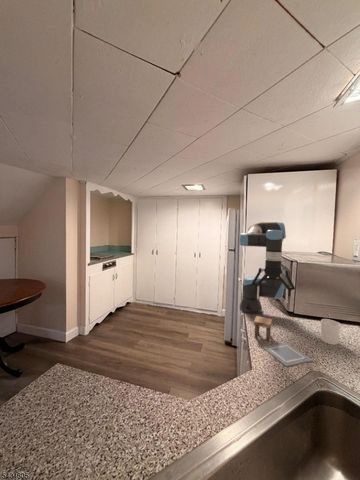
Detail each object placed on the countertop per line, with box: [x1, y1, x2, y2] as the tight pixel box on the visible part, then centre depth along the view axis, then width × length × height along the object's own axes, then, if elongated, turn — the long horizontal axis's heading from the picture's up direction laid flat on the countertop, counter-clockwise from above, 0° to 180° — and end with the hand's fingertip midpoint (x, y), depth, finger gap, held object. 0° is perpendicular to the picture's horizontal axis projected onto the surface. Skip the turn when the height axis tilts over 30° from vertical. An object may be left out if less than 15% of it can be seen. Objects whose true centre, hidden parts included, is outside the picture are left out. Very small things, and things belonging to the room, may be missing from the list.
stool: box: [253, 315, 273, 342], centre depth 107 cm, size 8×8×9 cm
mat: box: [262, 342, 313, 367], centre depth 92 cm, size 14×14×1 cm
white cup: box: [320, 318, 341, 346], centre depth 103 cm, size 8×8×10 cm
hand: (271, 300), depth 106 cm, fingers open, 13 cm apart
